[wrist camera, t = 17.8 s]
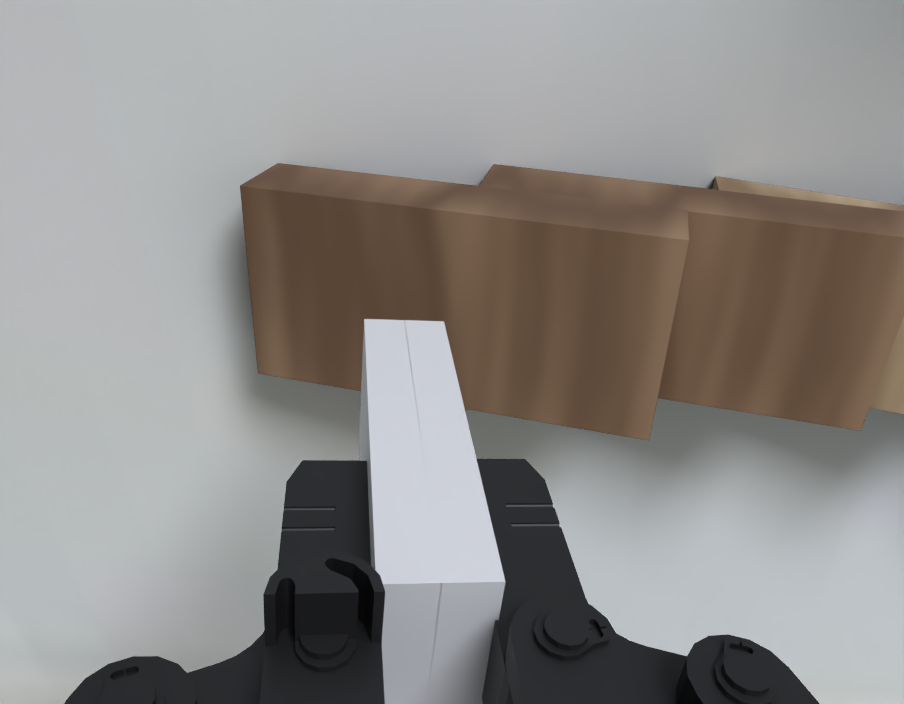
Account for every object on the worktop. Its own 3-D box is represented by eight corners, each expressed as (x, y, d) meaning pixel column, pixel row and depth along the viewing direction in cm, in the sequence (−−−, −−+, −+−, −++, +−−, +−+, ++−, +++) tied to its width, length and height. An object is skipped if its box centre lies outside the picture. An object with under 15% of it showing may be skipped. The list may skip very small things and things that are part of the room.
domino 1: (257, 373, 20) (649, 440, 18) (240, 185, 18) (689, 240, 16) (290, 338, 22) (650, 396, 20) (278, 163, 19) (687, 209, 18)
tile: (673, 369, 22) (1060, 445, 20) (721, 196, 19) (1165, 268, 18) (672, 337, 24) (1028, 405, 22) (715, 176, 21) (1120, 240, 20)
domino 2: (466, 367, 21) (860, 430, 19) (478, 186, 18) (932, 240, 17) (480, 333, 23) (843, 389, 21) (493, 163, 20) (906, 212, 18)
